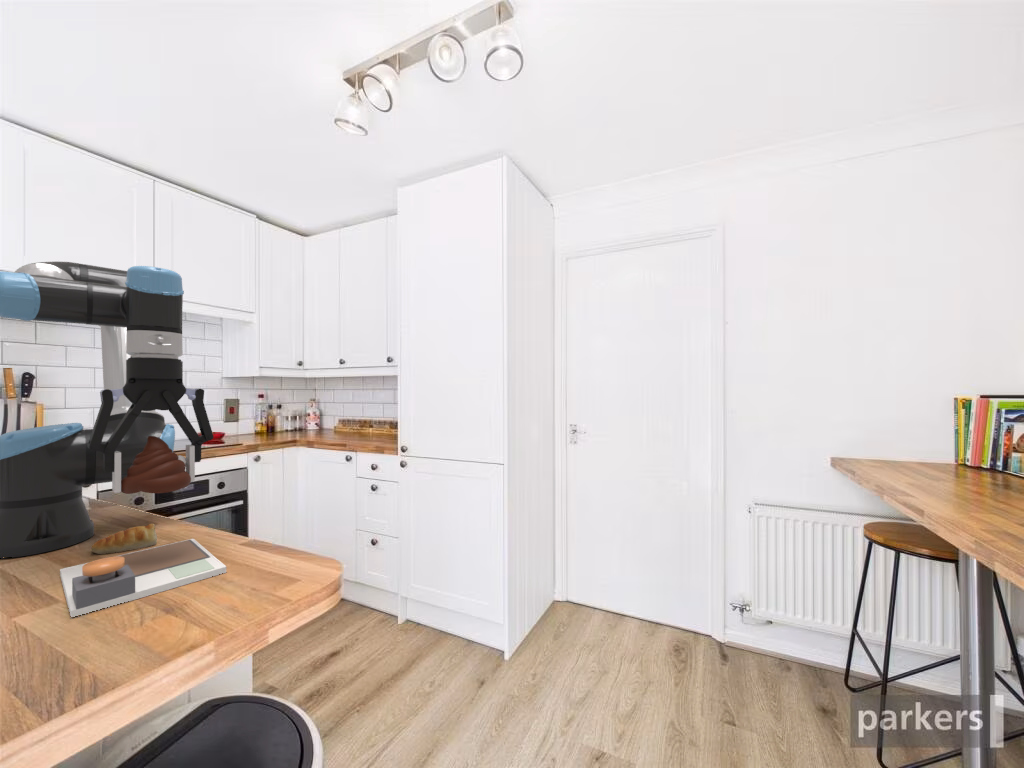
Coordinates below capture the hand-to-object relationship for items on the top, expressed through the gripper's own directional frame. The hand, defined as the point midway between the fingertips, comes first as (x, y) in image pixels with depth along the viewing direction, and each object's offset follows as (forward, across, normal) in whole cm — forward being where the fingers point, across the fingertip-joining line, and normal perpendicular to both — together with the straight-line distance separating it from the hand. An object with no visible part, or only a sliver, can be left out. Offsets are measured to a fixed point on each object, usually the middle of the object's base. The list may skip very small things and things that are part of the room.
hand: (155, 485), depth 73 cm
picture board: (+14, -2, -3) cm, 14 cm away
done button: (+12, -7, -10) cm, 17 cm away
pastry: (+14, -1, +15) cm, 21 cm away
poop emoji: (+1, 0, -1) cm, 1 cm away
